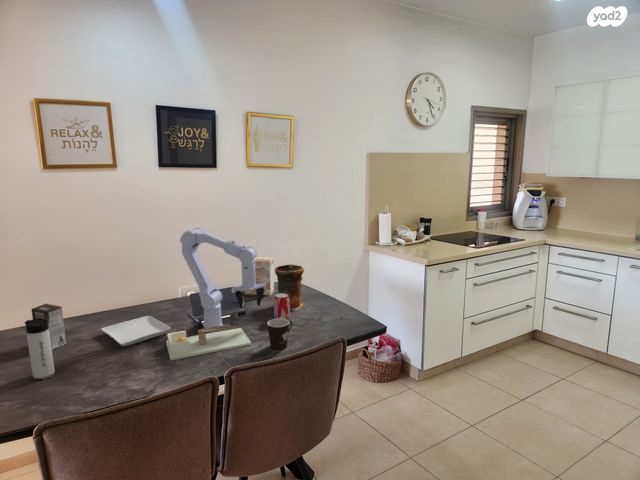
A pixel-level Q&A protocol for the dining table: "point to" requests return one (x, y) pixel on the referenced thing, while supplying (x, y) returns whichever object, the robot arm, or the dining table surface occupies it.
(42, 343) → the travel mug
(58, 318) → the coffee box
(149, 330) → the salad plate
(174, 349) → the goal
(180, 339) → the ball
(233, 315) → the striker rod
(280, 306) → the soda can
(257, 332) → the dining table surface
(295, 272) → the vessel
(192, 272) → the robot arm
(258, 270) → the coffeecake box
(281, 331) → the coffee mug
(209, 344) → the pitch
